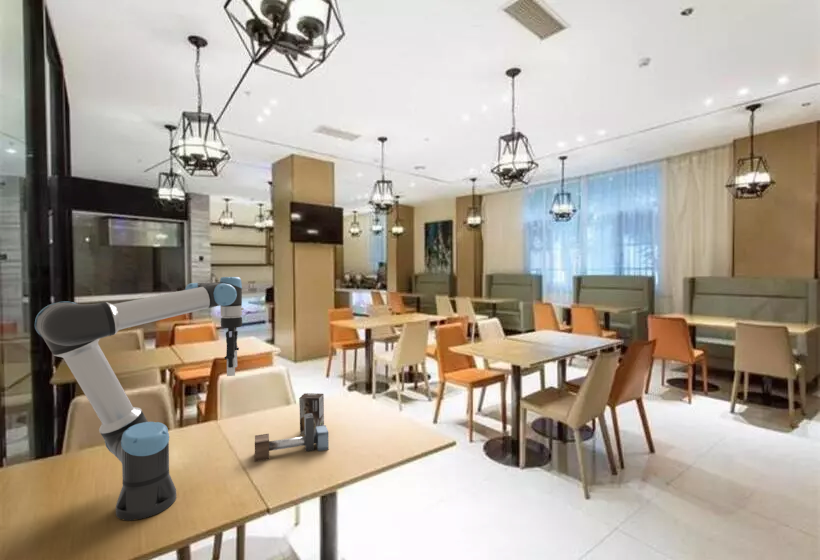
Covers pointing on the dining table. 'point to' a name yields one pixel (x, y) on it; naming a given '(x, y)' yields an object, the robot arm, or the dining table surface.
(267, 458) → the sleeve
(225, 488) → the dining table surface
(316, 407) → the coffee box
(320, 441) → the socket
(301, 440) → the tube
